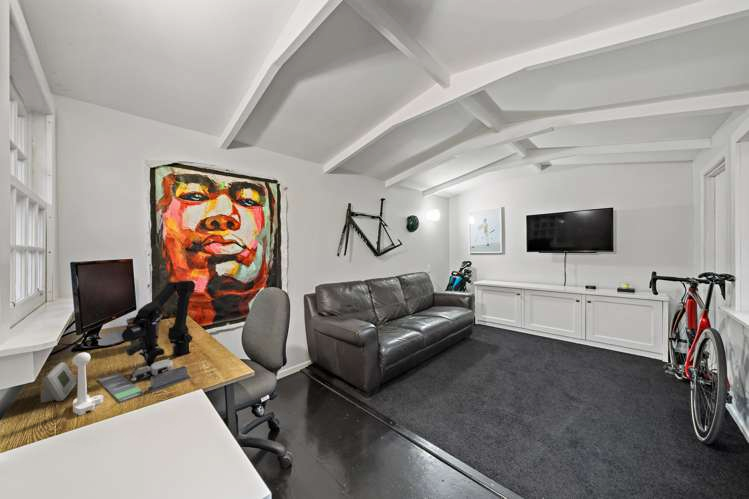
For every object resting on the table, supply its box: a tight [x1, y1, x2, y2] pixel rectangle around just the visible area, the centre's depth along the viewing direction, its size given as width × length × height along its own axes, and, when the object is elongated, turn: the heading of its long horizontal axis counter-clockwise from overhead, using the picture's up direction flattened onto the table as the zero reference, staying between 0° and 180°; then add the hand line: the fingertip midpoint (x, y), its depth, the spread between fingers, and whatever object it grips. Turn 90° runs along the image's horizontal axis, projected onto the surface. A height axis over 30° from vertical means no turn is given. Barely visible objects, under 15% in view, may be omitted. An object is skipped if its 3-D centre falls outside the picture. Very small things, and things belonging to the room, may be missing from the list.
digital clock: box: [40, 362, 78, 403], centre depth 107 cm, size 16×9×11 cm, turn 25°
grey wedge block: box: [147, 365, 191, 393], centre depth 115 cm, size 14×4×5 cm, turn 147°
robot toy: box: [129, 357, 174, 382], centre depth 123 cm, size 12×4×15 cm
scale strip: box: [97, 372, 145, 404], centre depth 112 cm, size 7×31×1 cm, turn 57°
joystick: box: [72, 352, 104, 416], centre depth 99 cm, size 11×8×20 cm
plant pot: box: [125, 314, 163, 345], centre depth 160 cm, size 16×16×16 cm
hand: (149, 367), depth 127 cm, fingers closed
